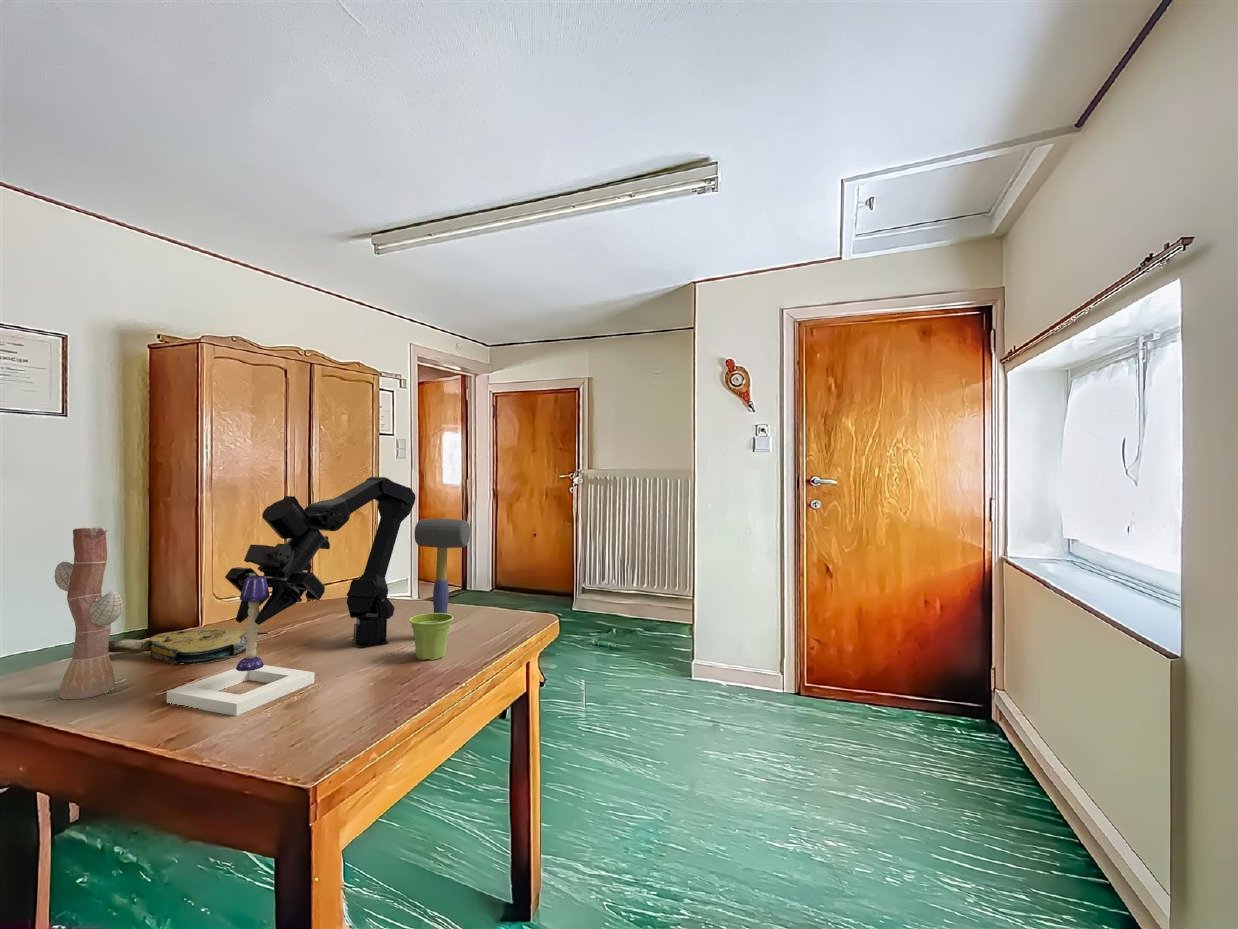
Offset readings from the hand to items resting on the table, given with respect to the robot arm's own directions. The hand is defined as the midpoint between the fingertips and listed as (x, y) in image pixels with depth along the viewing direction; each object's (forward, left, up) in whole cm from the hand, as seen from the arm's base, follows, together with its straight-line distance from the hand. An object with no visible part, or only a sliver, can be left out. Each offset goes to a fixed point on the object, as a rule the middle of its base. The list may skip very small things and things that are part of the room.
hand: (247, 622), depth 101 cm
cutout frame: (0, -2, -13) cm, 13 cm away
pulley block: (+9, -35, -14) cm, 38 cm away
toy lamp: (-1, -1, -9) cm, 9 cm away
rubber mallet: (-42, -16, -13) cm, 47 cm away
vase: (+23, -19, -13) cm, 33 cm away
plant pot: (-35, -3, -13) cm, 38 cm away
